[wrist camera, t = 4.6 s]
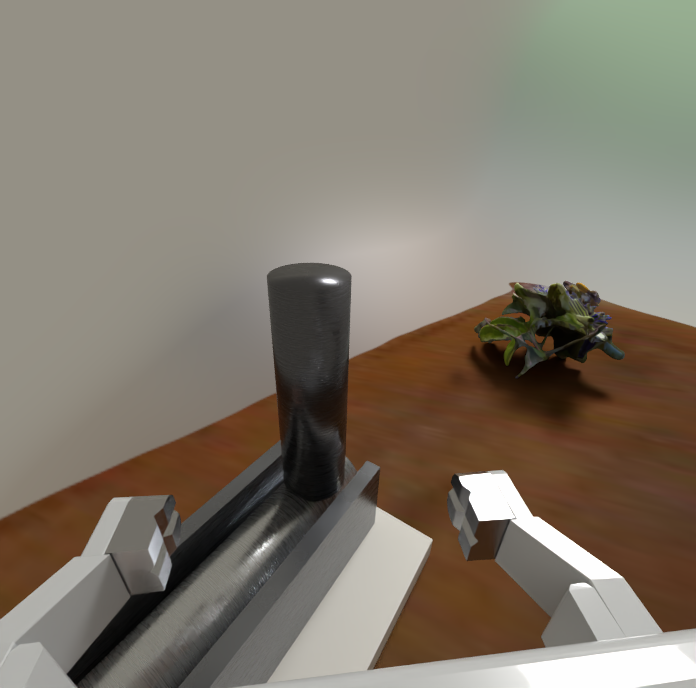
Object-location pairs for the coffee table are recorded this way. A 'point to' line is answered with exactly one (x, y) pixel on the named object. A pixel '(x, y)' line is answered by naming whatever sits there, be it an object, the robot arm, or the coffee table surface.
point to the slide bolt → (276, 511)
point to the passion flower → (552, 324)
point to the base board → (360, 604)
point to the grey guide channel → (275, 595)
